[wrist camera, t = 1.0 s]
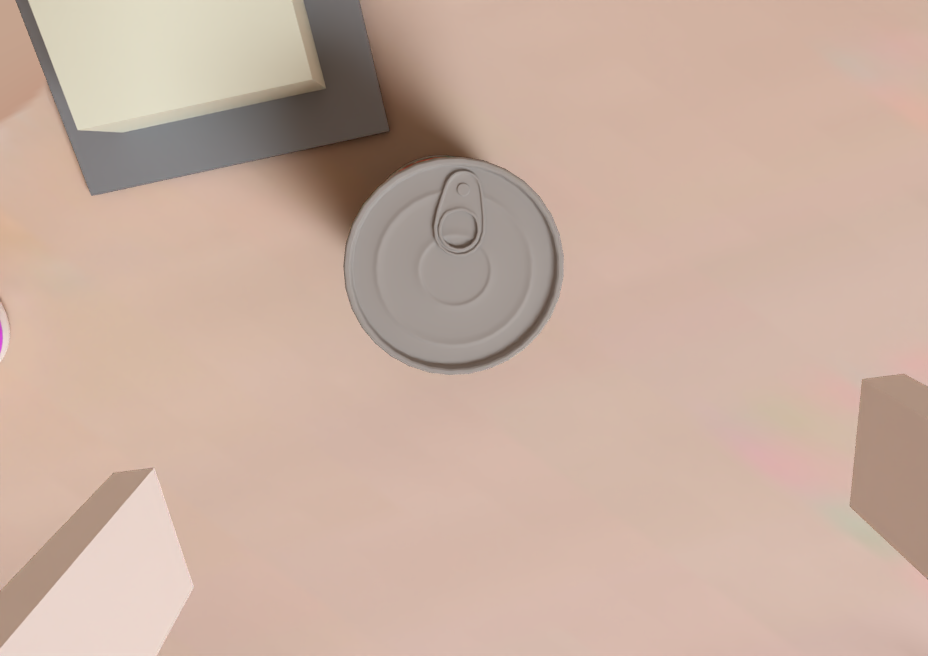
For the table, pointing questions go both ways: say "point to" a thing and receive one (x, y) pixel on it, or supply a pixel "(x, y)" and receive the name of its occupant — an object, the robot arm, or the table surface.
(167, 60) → the cream base block
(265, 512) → the table surface
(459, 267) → the canned tomato
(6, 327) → the supplement bottle
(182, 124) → the grey flat square
